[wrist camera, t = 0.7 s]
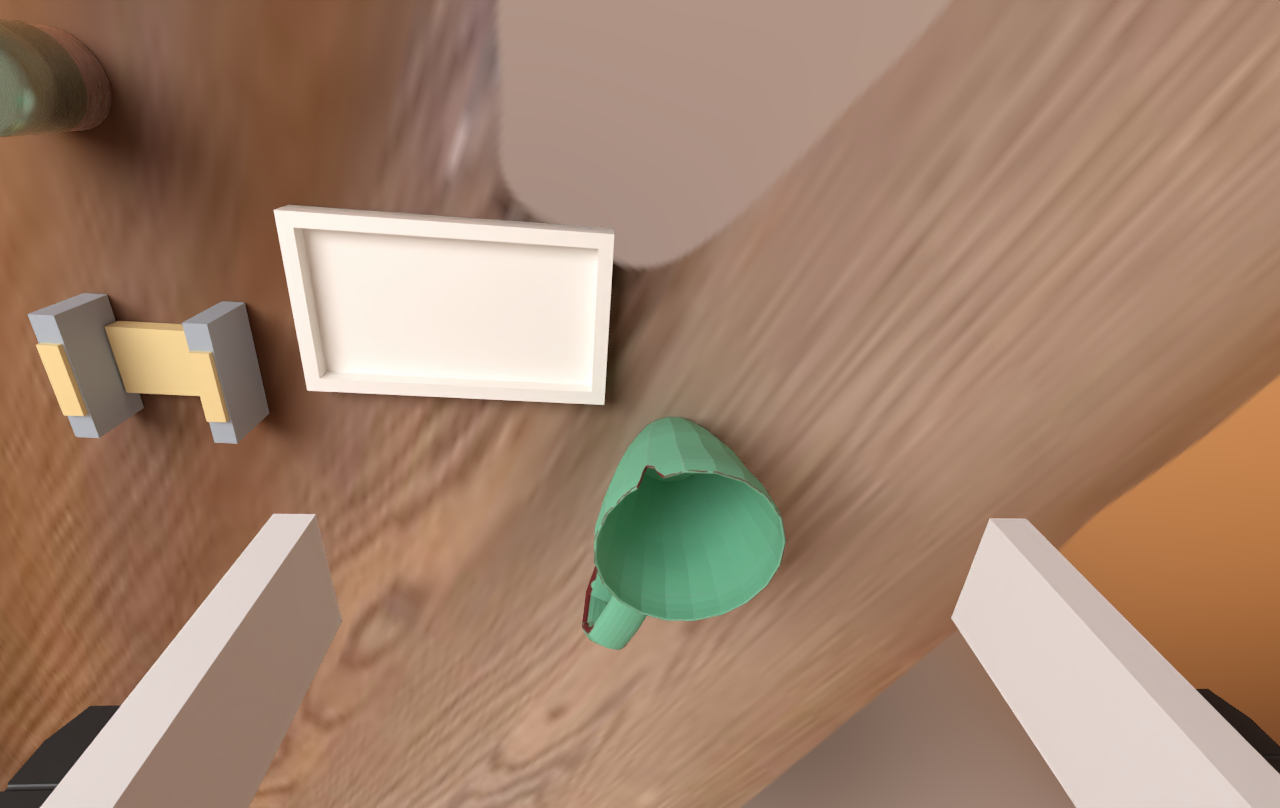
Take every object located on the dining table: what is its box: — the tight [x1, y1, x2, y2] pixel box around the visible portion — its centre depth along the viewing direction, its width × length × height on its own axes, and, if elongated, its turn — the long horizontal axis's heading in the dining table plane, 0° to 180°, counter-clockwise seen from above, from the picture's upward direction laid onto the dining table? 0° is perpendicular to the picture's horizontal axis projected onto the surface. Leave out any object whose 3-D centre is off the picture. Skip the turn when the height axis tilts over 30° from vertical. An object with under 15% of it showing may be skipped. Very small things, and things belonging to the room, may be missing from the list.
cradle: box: [28, 293, 269, 444], centre depth 33 cm, size 7×8×4 cm
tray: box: [274, 205, 615, 405], centre depth 34 cm, size 10×17×2 cm, turn 85°
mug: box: [582, 417, 786, 650], centre depth 36 cm, size 15×10×10 cm
